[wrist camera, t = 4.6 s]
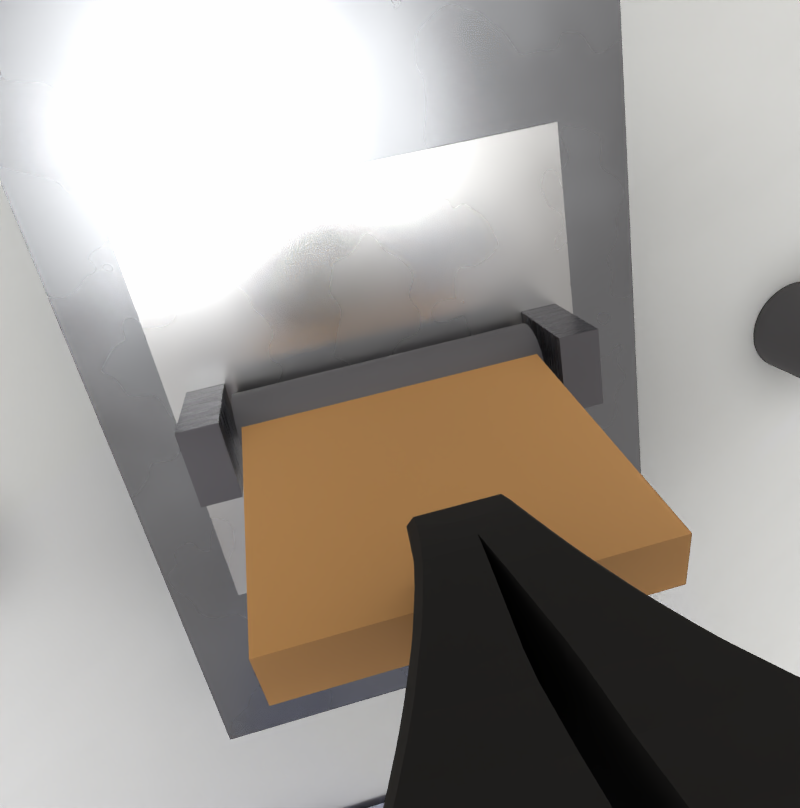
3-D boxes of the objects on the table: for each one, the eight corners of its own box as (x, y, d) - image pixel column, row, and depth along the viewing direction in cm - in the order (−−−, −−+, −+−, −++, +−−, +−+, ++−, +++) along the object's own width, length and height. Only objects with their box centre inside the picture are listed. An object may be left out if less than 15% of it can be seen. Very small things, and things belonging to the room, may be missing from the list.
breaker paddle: (519, 374, 15) (690, 596, 10) (252, 441, 15) (268, 720, 9) (515, 311, 14) (701, 515, 9) (231, 379, 14) (233, 646, 8)
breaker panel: (619, 581, 21) (692, 672, 17) (232, 693, 19) (226, 816, 16) (574, -135, 13) (684, -229, 10) (-52, -28, 12) (-179, -91, 9)
